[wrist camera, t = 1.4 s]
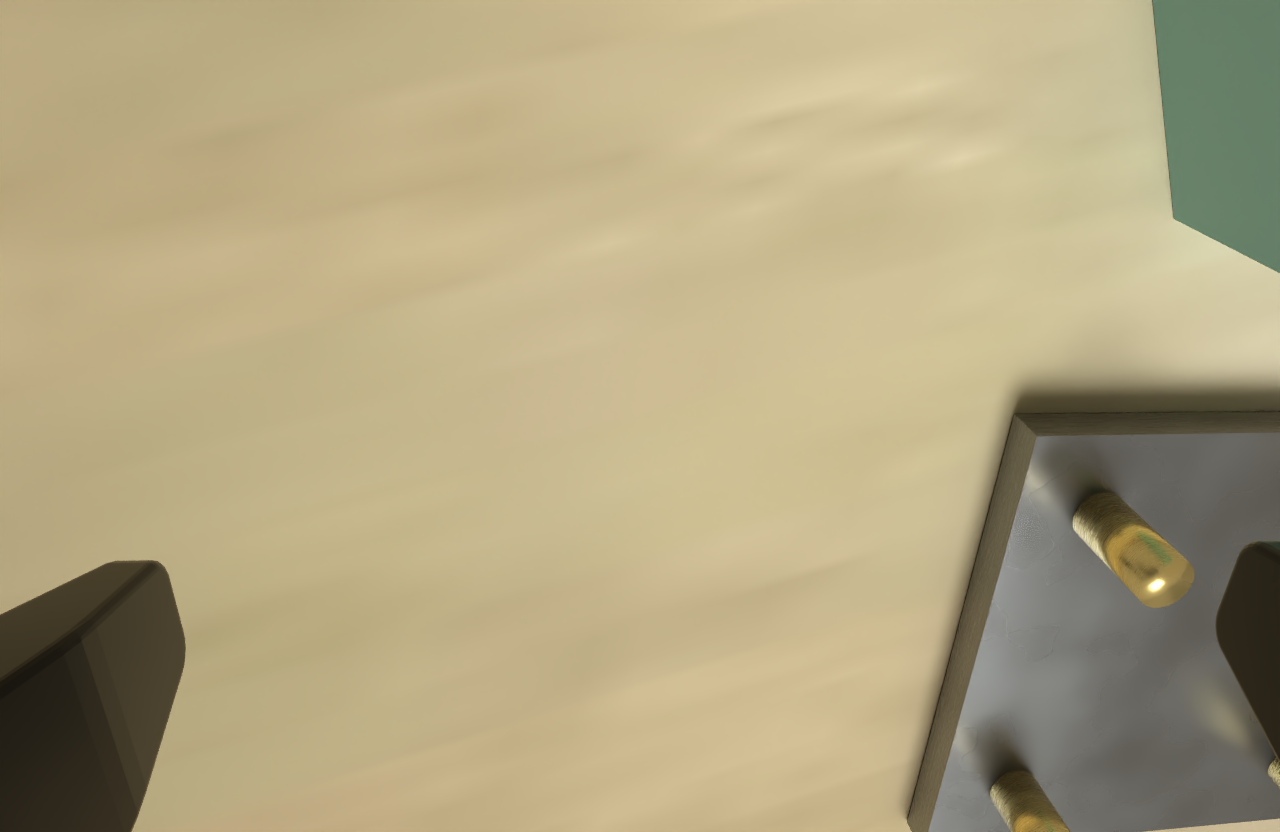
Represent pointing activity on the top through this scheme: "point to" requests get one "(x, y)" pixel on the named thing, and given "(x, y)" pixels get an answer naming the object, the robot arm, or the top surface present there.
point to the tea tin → (1223, 119)
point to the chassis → (1107, 632)
